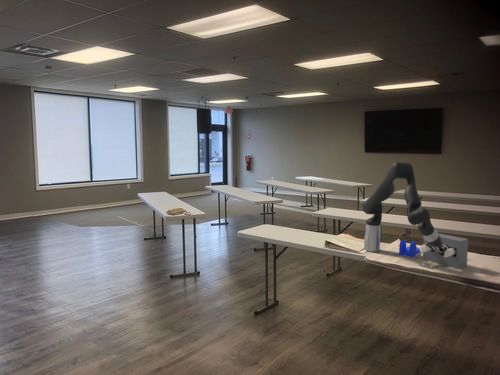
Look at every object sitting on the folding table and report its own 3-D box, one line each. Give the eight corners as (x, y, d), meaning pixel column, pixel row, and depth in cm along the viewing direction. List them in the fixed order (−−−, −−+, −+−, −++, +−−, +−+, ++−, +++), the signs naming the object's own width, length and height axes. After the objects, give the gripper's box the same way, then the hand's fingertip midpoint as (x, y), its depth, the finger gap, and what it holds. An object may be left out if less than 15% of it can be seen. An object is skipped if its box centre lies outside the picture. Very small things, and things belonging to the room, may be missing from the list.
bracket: (412, 257, 241) (413, 243, 240) (399, 255, 246) (399, 241, 245) (421, 251, 255) (421, 237, 254) (408, 249, 260) (408, 236, 259)
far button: (427, 252, 226) (427, 245, 225) (420, 251, 229) (420, 243, 229) (435, 250, 230) (436, 243, 230) (428, 249, 234) (429, 241, 233)
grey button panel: (459, 269, 217) (460, 241, 216) (422, 259, 235) (423, 233, 234) (466, 266, 222) (468, 239, 220) (430, 257, 240) (431, 232, 238)
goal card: (431, 268, 218) (431, 267, 218) (418, 265, 225) (418, 264, 225) (437, 267, 221) (437, 265, 221) (424, 263, 228) (424, 262, 228)
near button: (449, 258, 215) (449, 250, 214) (441, 256, 219) (442, 248, 218) (457, 255, 220) (458, 248, 219) (449, 254, 223) (450, 246, 223)
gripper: (445, 232, 203) (457, 251, 211) (422, 228, 214) (434, 246, 222) (439, 244, 200) (451, 263, 208) (416, 238, 211) (428, 257, 219)
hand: (442, 254), depth 215 cm, fingers closed
